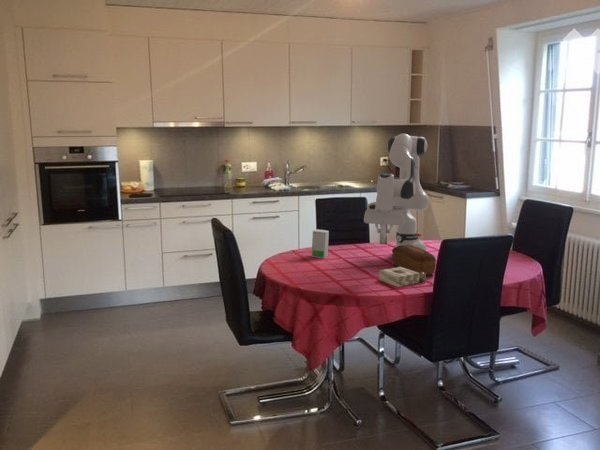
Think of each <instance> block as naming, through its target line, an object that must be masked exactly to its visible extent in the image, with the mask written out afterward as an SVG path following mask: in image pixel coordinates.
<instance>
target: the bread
mask: <svg viewBox="0 0 600 450" xmlns="http://www.w3.org/2000/svg"><path fill="white" fill-rule="evenodd" d="M391 252H392V259H391V261H392V262H391V263H392V264H393V266H395V267H402V268H405V269H408V270H411V271H414V272H417V273H419V272H425V273H426V276H431V275H433V274H434V273H435V270H436V263H437V262H436V261H437V258H436V257H435V255H433V254H432V253H430V252H428V251H427V250H426V251H425V250H423V249H421V248H419V247H415V246H411V245H400V246H397V247H395V246H394V247H393V248H392V249H391Z"/></svg>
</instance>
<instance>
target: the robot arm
mask: <svg viewBox="0 0 600 450" xmlns="http://www.w3.org/2000/svg"><path fill="white" fill-rule="evenodd" d="M427 149H428V141H427V139H426V138H425V137H424V136H416V135H409V134H407V133H400V134H398V135H396V136H391V137H390V138H389V139H388V141H387V150H388V153H389V155H388V156H389V160H390V162H391V163H392V164H393V166H395V167H397V168H399V178H395V176H394V173H392V172H381V173H379V174H378V177H377V182H376V195H377V196H376V199H375V201H374V202H370V203H368V204H367V205H366V208H367V209H366V210H365V212H364V215H363V222H364V223H365V224H373V225H374V226H375V229H376V232H377V234H378V233H379V234H380V228H379V225H380V224H383V221H384V223H385V224H388V225H389V228H387V234H391V230H392V228H393V226H396V227H397V228H396V230H397V231H396V234H395V238H396V240H395V246H394V248H395V247H397V246H400V245H411V246H415V247H419V248H421V249H423V250H425V251H427V246H426V244H425V243H423V242H422V241H421V239H419V237H422V233H421V232H417V224H418V223H417V219H416V217H415V216H414V215H412V213H411V212H410V210H411V211H425V210H426V209H427V208H428V207H429V206H430V196H429V195H428V194H427V192H425V190H424V189H423V187H422V185H421V183H420V158H421V157H422V156H424V155H425V154H426V153H427ZM388 225H387V226H388Z"/></svg>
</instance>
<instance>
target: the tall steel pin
mask: <svg viewBox="0 0 600 450" xmlns="http://www.w3.org/2000/svg"><path fill="white" fill-rule="evenodd" d="M379 227H380V228H379V229H380V233H379V244H380V245H382V246H383V245H387V244H388V243H387V242H388V233H387V229H388V224H385V223H384V221H383V224H379Z"/></svg>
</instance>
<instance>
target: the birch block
mask: <svg viewBox="0 0 600 450" xmlns="http://www.w3.org/2000/svg"><path fill="white" fill-rule="evenodd" d="M378 280H379V281H380V282H383V283H385V284H388V285H391V286H395V287H396V288H399V287H405V285H406V286H411V285H415V284H414V283H416V284H419V283H420V282H419V273H417V272H414V271H411V270H408V269H405V268H402V267H397V266H395V267H391V268H385V269H379V271H378ZM410 284H411V285H410Z"/></svg>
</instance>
